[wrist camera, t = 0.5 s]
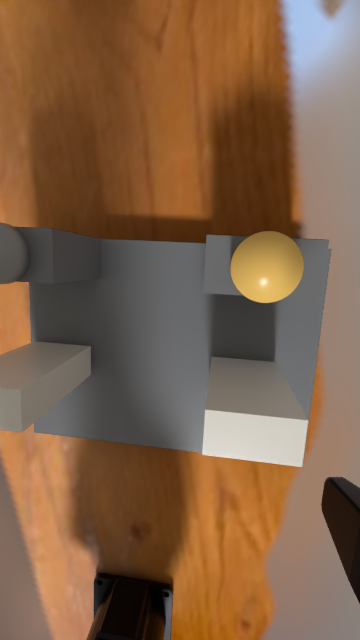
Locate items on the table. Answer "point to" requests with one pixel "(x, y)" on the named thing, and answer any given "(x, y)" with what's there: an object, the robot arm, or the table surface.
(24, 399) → the cream upright block
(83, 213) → the table surface
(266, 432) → the tall white block
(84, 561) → the table surface
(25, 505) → the table surface
